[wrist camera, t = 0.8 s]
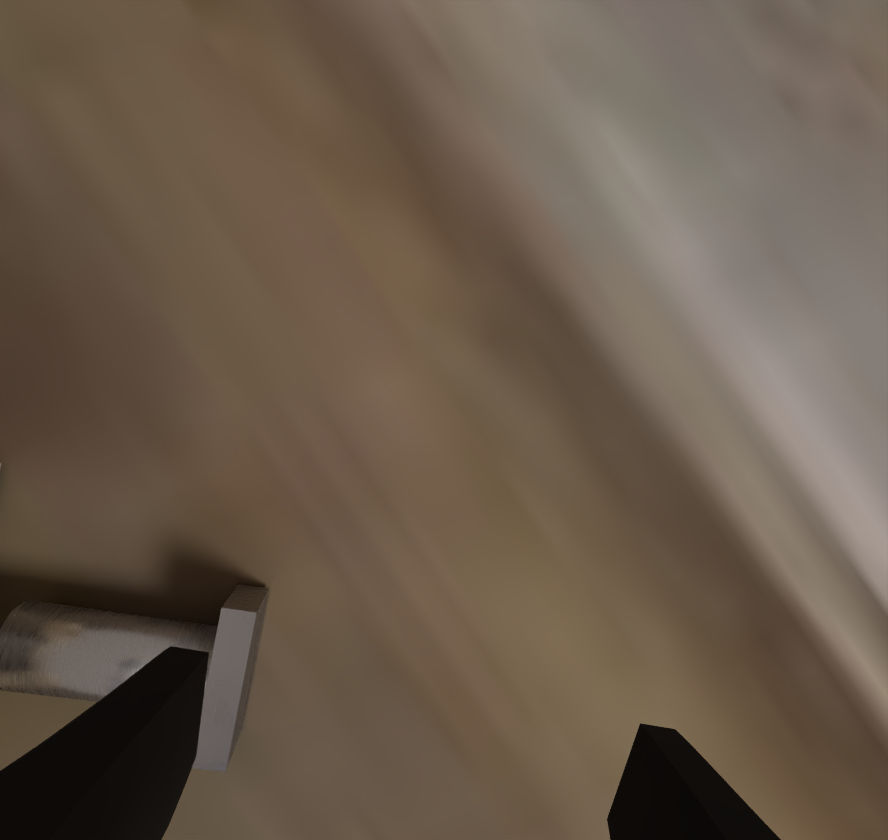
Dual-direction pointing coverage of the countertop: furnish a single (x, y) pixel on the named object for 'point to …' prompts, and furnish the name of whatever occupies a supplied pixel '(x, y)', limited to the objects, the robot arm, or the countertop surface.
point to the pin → (136, 658)
